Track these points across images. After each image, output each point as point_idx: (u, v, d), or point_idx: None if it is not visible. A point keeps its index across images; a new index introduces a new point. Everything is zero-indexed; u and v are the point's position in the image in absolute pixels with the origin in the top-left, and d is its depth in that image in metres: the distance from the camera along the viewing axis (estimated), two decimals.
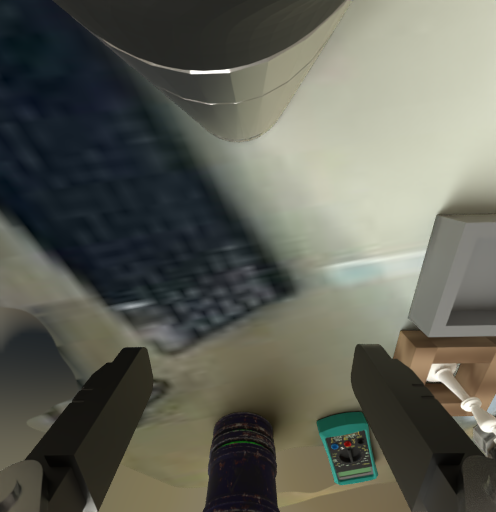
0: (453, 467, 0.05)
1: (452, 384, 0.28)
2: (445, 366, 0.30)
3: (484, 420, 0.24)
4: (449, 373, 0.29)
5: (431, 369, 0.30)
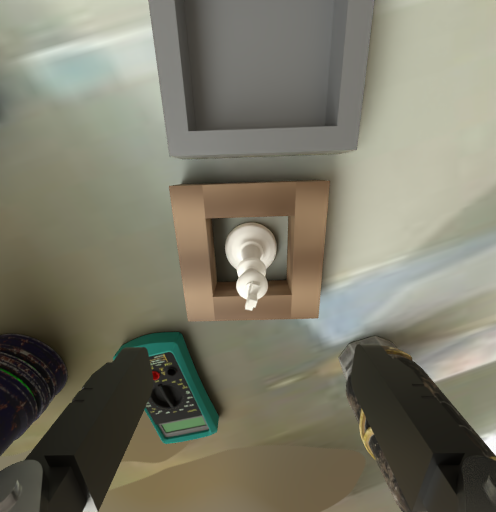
0: (453, 467, 0.05)
1: (246, 254, 0.19)
2: (253, 240, 0.20)
3: (240, 275, 0.14)
4: (252, 246, 0.20)
5: (235, 247, 0.21)
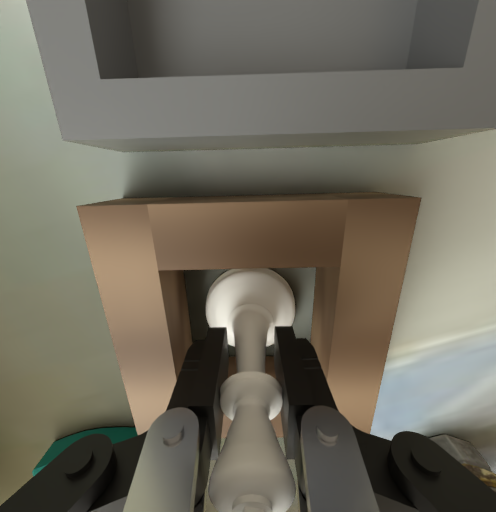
0: None
1: (240, 339, 0.09)
2: (254, 300, 0.11)
3: (218, 466, 0.05)
4: (253, 315, 0.11)
5: (223, 311, 0.12)
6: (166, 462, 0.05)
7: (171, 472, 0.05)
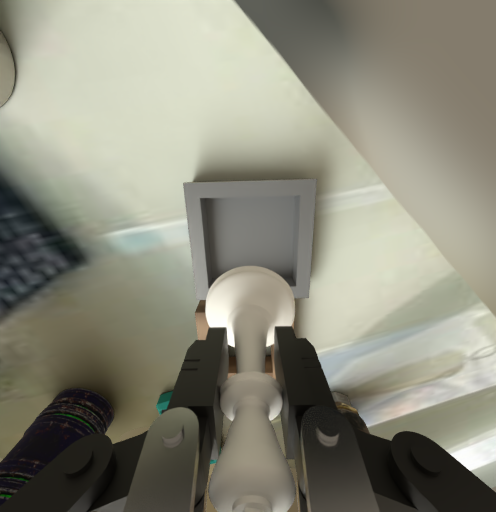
0: None
1: (240, 340, 0.09)
2: (254, 300, 0.11)
3: (218, 466, 0.05)
4: (253, 316, 0.11)
5: (223, 311, 0.12)
6: (166, 462, 0.05)
7: (171, 472, 0.05)
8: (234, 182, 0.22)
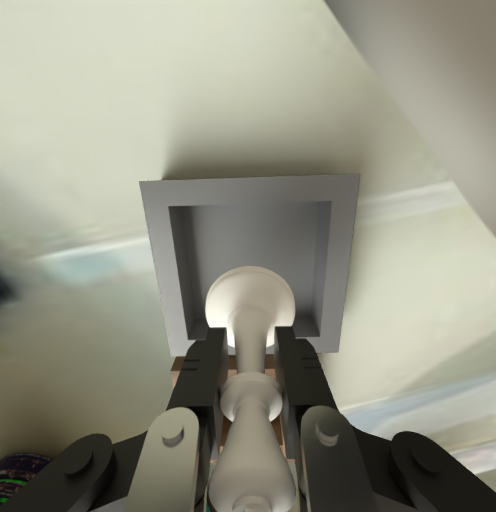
0: None
1: (240, 340, 0.09)
2: (254, 301, 0.11)
3: (219, 468, 0.05)
4: (253, 316, 0.11)
5: (223, 311, 0.12)
6: (167, 462, 0.05)
7: (171, 472, 0.05)
8: (223, 180, 0.13)
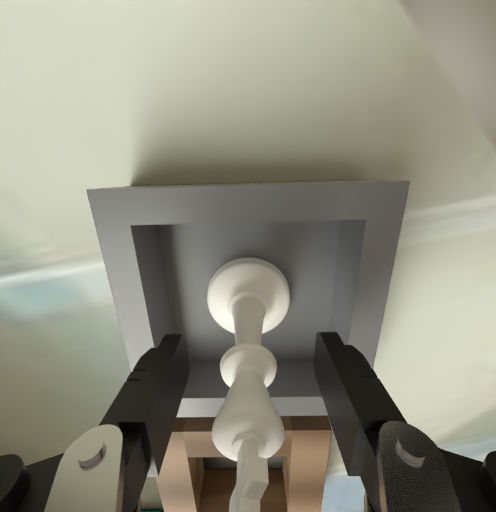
0: (377, 433, 0.06)
1: (239, 321, 0.10)
2: (252, 288, 0.12)
3: (220, 412, 0.06)
4: (251, 301, 0.12)
5: (223, 298, 0.13)
6: (85, 485, 0.04)
7: (76, 499, 0.04)
8: (209, 189, 0.09)
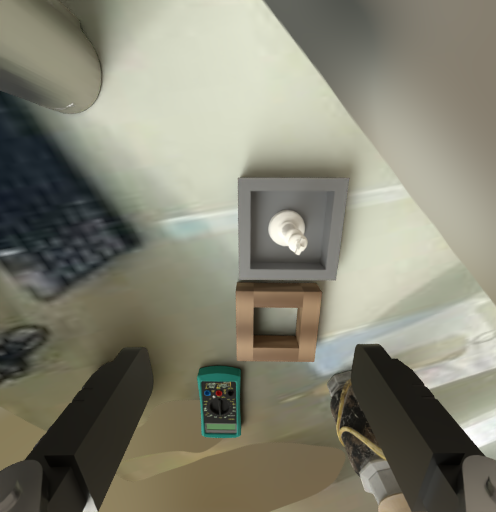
0: (453, 467, 0.05)
1: (287, 229, 0.28)
2: (290, 221, 0.30)
3: (291, 236, 0.24)
4: (290, 225, 0.29)
5: (277, 226, 0.30)
6: None
7: None
8: (280, 178, 0.27)
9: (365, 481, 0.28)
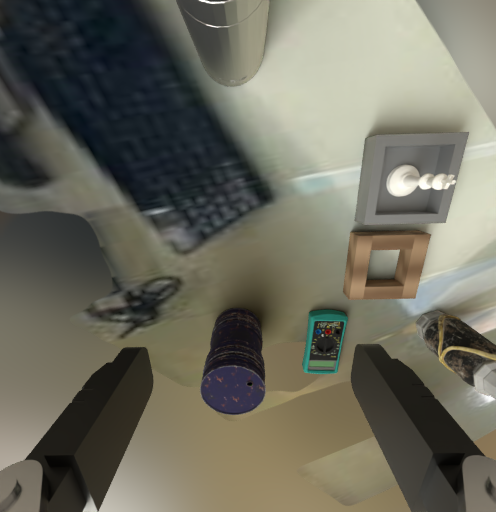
0: (453, 467, 0.05)
1: (414, 177, 0.34)
2: None
3: (435, 176, 0.30)
4: (412, 175, 0.35)
5: (398, 178, 0.36)
6: None
7: None
8: (412, 134, 0.33)
9: (479, 381, 0.35)
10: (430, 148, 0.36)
